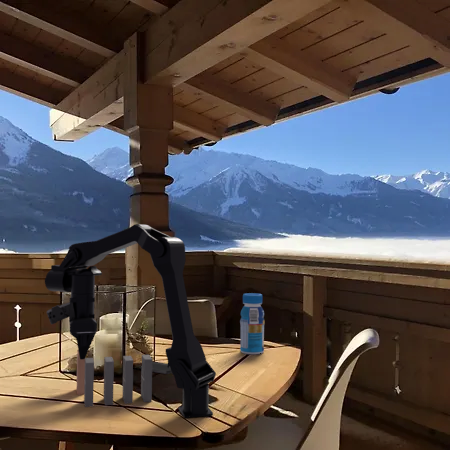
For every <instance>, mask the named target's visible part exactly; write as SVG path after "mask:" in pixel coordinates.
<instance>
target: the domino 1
mask: <svg viewBox="0 0 450 450" xmlns="http://www.w3.org/2000/svg"><path fill="white" fill-rule="evenodd" d="M76 352H77V354H76V355H77V356H76V358H77V359H76V395H78V396H79V395H80V396H81V395H84V384H85V359H80V356H79V351H78V349H77V351H76Z"/></svg>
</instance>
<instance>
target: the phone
mask: <svg viewBox="0 0 450 450" xmlns="http://www.w3.org/2000/svg"><path fill="white" fill-rule="evenodd" d="M167 366H168V362H159V361H154V360H152V373H157V374H163V375H164V374H165V375H169V374H172V373H171V370H170V367H169V368H168V367H167ZM139 368H140V369H141V367H139Z"/></svg>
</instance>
